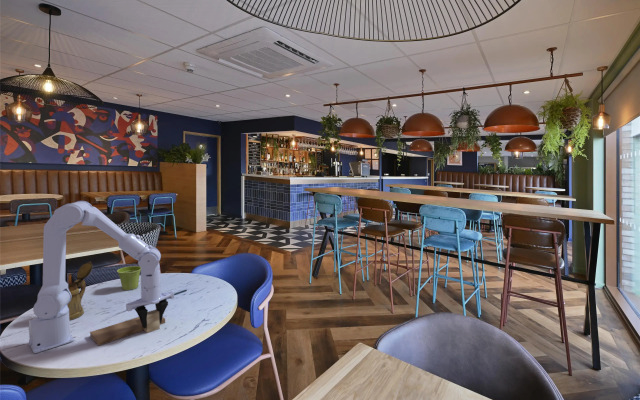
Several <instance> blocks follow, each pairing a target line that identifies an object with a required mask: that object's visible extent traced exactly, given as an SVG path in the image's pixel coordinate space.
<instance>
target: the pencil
mask: <svg viewBox="0 0 640 400" xmlns="http://www.w3.org/2000/svg"><path fill="white" fill-rule="evenodd" d="M187 291H188V289H183V290H181V291H177V292H173V293H174V296H176V295H177V296H178V295H180V294H182V293H185V292H187Z"/></svg>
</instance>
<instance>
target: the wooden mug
mask: <svg viewBox="0 0 640 400" xmlns="http://www.w3.org/2000/svg"><path fill="white" fill-rule="evenodd" d="M92 271H93V263H92V261H91V260H90V261H87V262H85V263H84V264H83V265H81V266H80V267H79V268H78V270H77V273H76V280H75V281H73V283H67V284H68V289H69V291H70V293H71V296H72V298H71V301H70V302H69V303H68V304H67V306H68V308H69V321H72V320H75V319H78V318H80V317H81V316H83V315H84V313H85V310H84V307H83V306H82V299H83V296H84V294H85V292H86V287H87V284H86V281H85V279H86V278H87V277H89V275H90V274H91V273H92ZM78 287H79V288H80V289H79V288H78Z"/></svg>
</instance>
